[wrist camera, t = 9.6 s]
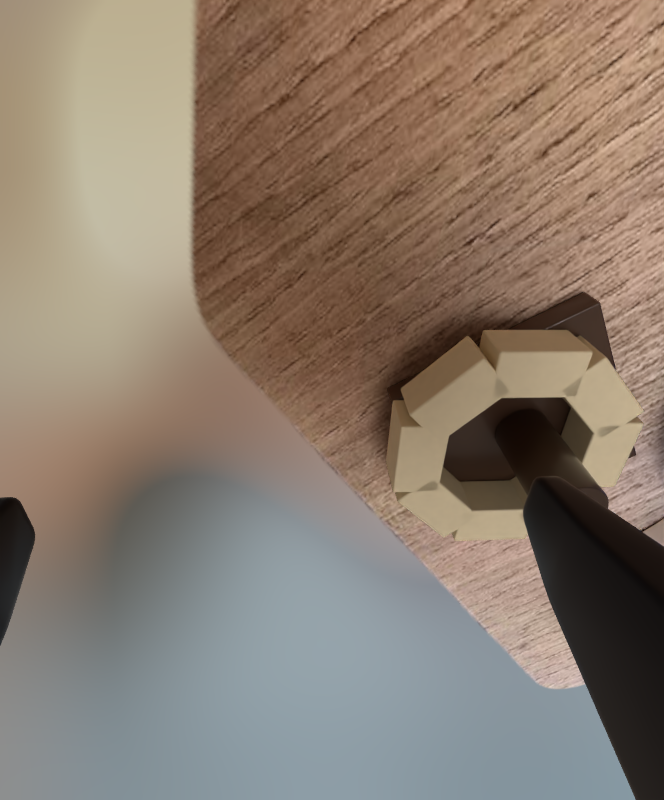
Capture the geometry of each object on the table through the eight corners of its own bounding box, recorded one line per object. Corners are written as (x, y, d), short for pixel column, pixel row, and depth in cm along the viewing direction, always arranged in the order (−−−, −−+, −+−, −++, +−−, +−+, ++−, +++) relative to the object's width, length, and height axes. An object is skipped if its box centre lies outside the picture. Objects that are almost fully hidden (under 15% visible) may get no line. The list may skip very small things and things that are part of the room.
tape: (342, 433, 21) (346, 462, 19) (538, 277, 18) (564, 296, 16) (469, 537, 25) (481, 568, 23) (647, 428, 22) (676, 455, 20)
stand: (386, 387, 21) (415, 482, 16) (584, 290, 19) (691, 363, 14) (456, 509, 26) (496, 614, 20) (622, 440, 24) (714, 537, 18)
